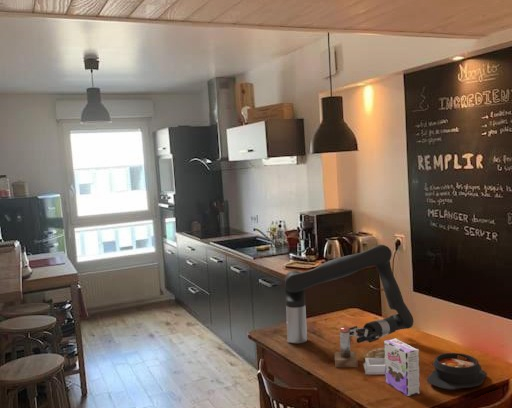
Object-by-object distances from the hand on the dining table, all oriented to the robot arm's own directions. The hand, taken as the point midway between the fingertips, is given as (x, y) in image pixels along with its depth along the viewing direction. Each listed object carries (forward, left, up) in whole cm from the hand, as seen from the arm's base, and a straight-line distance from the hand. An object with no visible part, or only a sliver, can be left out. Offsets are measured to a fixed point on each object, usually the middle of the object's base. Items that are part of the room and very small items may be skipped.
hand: (350, 337), depth 219 cm
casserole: (+38, -21, -10) cm, 44 cm away
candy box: (+17, -26, -10) cm, 32 cm away
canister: (-2, -2, -7) cm, 8 cm away
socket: (+10, -9, -10) cm, 17 cm away
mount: (-2, -2, -10) cm, 10 cm away
